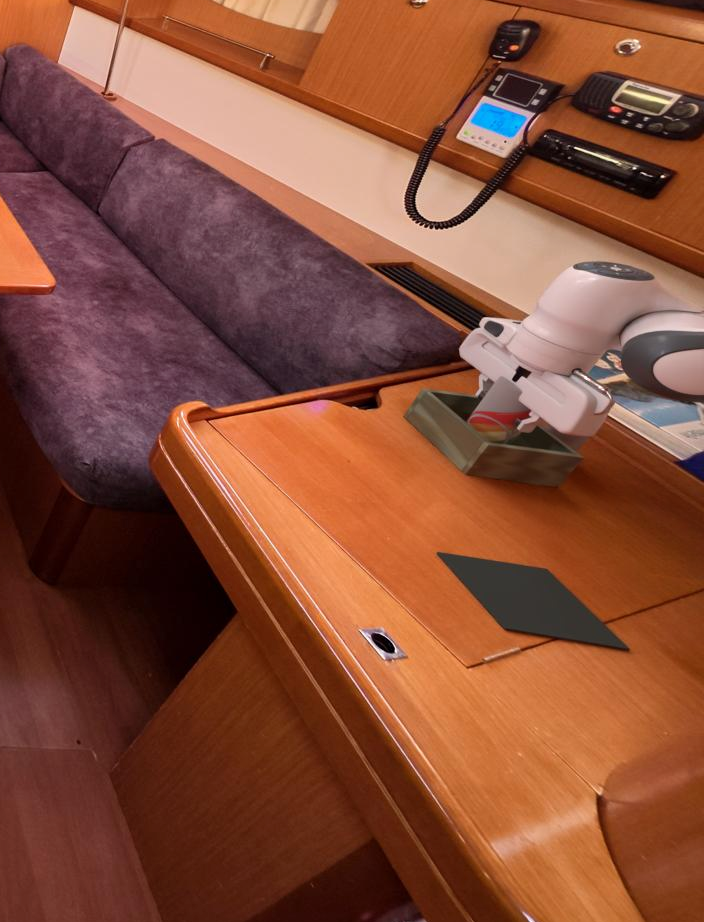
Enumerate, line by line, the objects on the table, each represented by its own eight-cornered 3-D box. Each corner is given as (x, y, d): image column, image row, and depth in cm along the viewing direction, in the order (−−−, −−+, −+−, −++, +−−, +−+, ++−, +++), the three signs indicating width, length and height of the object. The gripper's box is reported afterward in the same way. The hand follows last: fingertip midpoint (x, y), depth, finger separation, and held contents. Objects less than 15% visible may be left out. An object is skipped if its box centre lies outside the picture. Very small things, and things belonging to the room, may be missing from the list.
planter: (530, 438, 113) (565, 395, 108) (568, 453, 110) (606, 410, 105) (529, 450, 110) (565, 407, 106) (569, 466, 107) (607, 423, 103)
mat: (545, 570, 90) (547, 568, 90) (628, 650, 80) (630, 649, 80) (436, 553, 92) (437, 551, 92) (504, 630, 82) (506, 628, 82)
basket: (485, 426, 115) (506, 398, 112) (558, 487, 103) (584, 457, 100) (402, 416, 117) (422, 388, 114) (465, 474, 105) (488, 445, 102)
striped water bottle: (468, 458, 108) (536, 370, 99) (444, 434, 113) (506, 348, 104) (508, 465, 107) (580, 376, 98) (482, 440, 112) (548, 354, 103)
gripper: (645, 399, 91) (584, 465, 97) (515, 316, 109) (470, 376, 115) (595, 392, 91) (538, 458, 98) (474, 312, 109) (432, 371, 116)
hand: (500, 413), depth 106 cm, fingers closed on striped water bottle, 5 cm apart
